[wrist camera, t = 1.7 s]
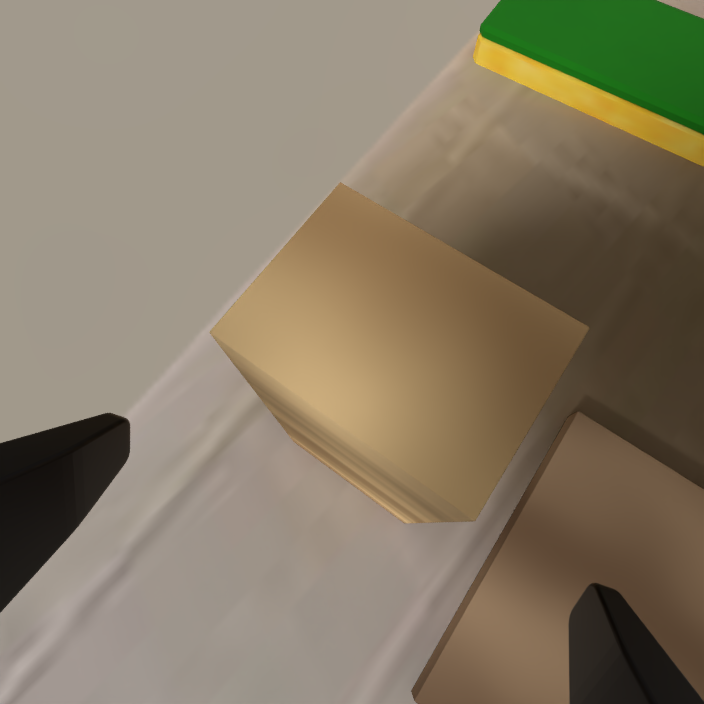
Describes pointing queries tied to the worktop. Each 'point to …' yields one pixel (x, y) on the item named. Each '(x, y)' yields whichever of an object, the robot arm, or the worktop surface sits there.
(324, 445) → the wooden block
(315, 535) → the worktop surface
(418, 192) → the worktop surface
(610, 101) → the dish sponge
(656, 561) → the base board
